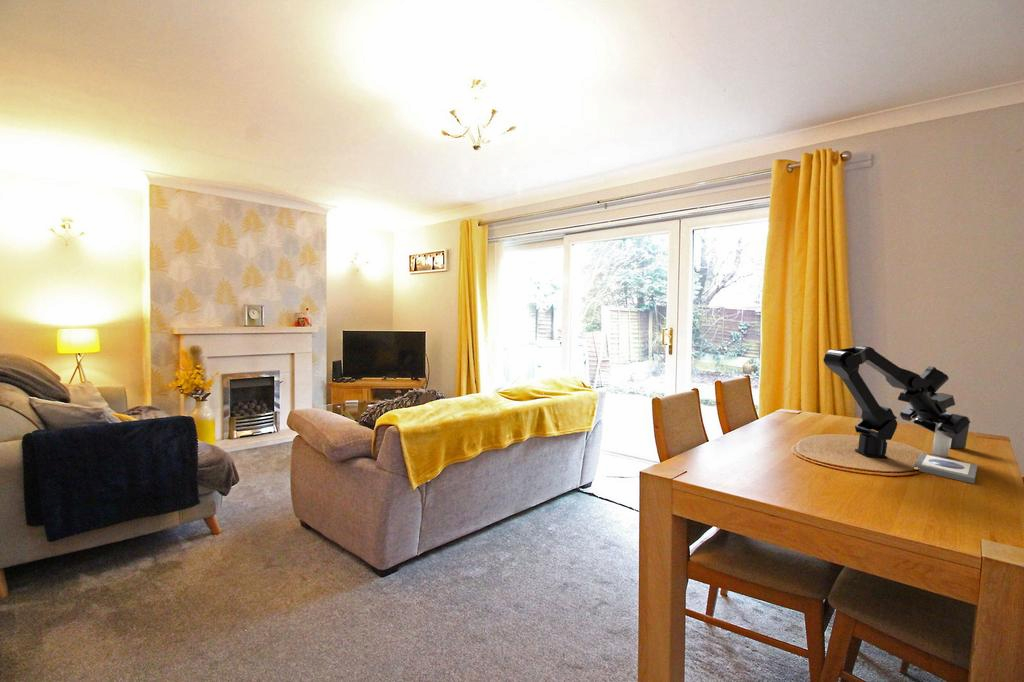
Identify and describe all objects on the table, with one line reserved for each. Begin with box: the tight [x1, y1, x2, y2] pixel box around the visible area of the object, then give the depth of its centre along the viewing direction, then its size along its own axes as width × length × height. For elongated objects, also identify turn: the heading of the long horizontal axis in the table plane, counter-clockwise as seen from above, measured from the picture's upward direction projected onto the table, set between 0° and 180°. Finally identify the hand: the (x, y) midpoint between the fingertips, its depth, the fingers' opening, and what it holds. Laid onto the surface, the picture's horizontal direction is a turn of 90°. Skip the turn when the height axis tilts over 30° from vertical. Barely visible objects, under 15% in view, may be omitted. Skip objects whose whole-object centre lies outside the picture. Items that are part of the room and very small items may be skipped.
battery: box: [949, 417, 970, 449], centre depth 168 cm, size 7×4×11 cm, turn 105°
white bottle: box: [931, 412, 952, 458], centre depth 157 cm, size 4×4×14 cm
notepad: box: [913, 452, 978, 485], centre depth 143 cm, size 18×13×2 cm
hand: (946, 435), depth 158 cm, fingers closed on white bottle, 4 cm apart
